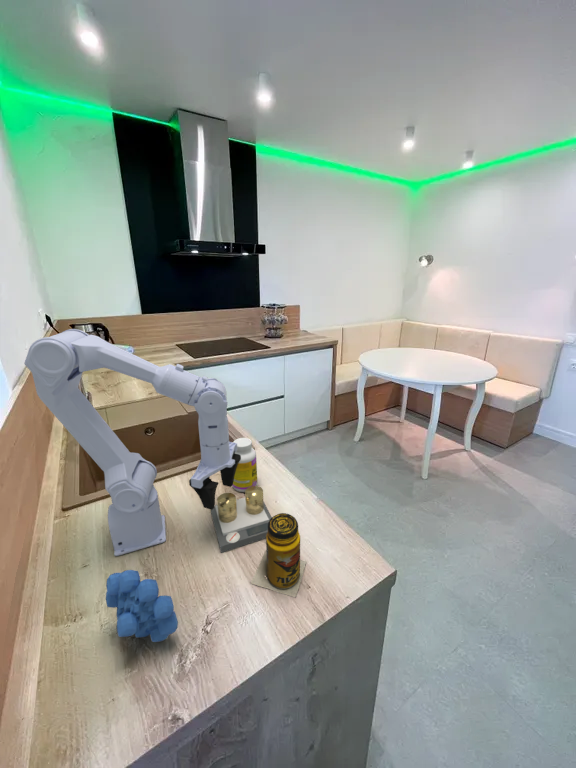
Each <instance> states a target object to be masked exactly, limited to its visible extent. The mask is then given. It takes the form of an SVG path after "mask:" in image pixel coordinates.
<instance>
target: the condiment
mask: <svg viewBox="0 0 576 768" xmlns="http://www.w3.org/2000/svg"><path fill="white" fill-rule="evenodd" d="M271 517H272V518H271V519H270V520H269V522H268V533H267V535H266V538H265V546H266V547H265V550H264V553H263V554H262V556H261V557H262V558H261V559H260V561H259V564H258V567H257V569H256V570H255V573H254V575H253V578H251V581H250V585H255V586H258V587H262V588H264V589H268V590H271V591H273V592H277V593H278V594H283V595H287V596H290V597H293V598H297V595H298V591H299V587H300V585H301V582H302V577H303V575H304V572H305V566H306V564H307V561H306V560H301V535H300V532H299V523H298V520H297V519H296V517H294V516H293V515H291V514H290V513H283V512H282V513H277V514H275V515H273V516H271Z"/></svg>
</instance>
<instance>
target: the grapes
mask: <svg viewBox="0 0 576 768" xmlns="http://www.w3.org/2000/svg"><path fill="white" fill-rule="evenodd" d="M159 591H160V589H159V585H158V581H157V580H156V579H152V578H145V579H143V580H141V576H140V573H139V571H138V570H134V569H126V570H124V571H122V572H113V573H111V574H110V575H108V577H107V579H106V593H105V602H106V607H107V608H111V609H113V608H116V620H117V621H116V631H117V635H118V637H119V638H125V637H131V636H133V635H134V636H135V638H146V637H148V636H149V637H150V641H151V642H153V643H159V642H163V641H166V640H167V639H168V637H169V636H170V635H172V634H173V633H175V632H176V631H177V630H178V628H179V620H178V616H177V613H176V611H175V610H174V609H175V606H174V605H175V604H174V601H173V599H172V596H171V595H166V594H165V595H159V593H160V592H159Z"/></svg>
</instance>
